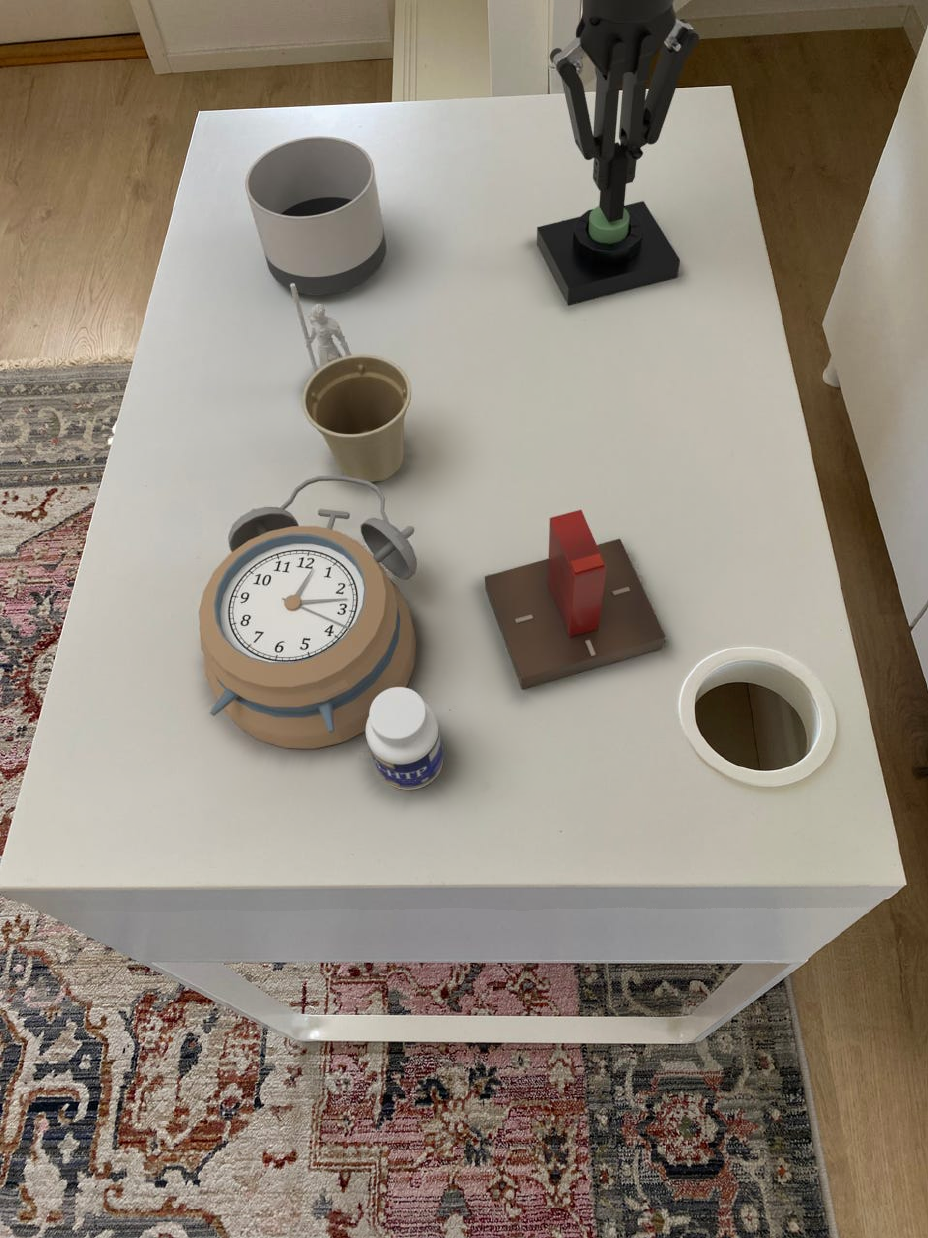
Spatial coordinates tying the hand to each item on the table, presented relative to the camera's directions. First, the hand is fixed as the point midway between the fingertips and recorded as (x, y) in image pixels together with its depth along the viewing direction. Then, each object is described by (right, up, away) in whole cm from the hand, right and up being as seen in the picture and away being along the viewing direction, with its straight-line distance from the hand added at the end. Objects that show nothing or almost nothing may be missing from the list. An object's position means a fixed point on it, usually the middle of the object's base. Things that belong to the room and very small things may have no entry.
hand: (610, 212), depth 94 cm
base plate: (-6, -41, -16) cm, 44 cm away
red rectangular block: (-6, -40, -18) cm, 44 cm away
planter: (-29, -2, +8) cm, 30 cm away
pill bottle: (-19, -52, -21) cm, 59 cm away
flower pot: (-23, -26, -6) cm, 36 cm away
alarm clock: (-27, -41, -15) cm, 51 cm away
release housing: (0, -3, +5) cm, 6 cm away
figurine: (-27, -18, -1) cm, 33 cm away
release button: (0, -1, +2) cm, 2 cm away
